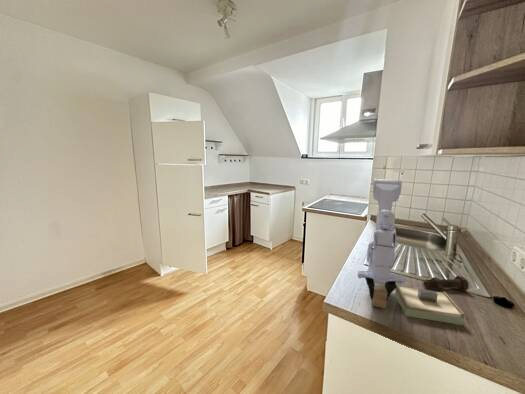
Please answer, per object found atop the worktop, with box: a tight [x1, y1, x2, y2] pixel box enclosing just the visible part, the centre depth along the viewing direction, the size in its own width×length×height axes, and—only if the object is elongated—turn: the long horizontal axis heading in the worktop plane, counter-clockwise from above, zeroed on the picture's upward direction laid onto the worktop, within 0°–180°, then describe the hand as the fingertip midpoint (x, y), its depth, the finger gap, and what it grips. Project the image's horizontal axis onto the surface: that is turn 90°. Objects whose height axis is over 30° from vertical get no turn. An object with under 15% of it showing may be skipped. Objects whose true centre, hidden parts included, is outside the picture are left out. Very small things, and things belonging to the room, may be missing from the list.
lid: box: [399, 286, 461, 318], centre depth 77 cm, size 12×14×4 cm
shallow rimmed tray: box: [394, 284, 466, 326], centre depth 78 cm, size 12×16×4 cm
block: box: [370, 283, 388, 309], centre depth 79 cm, size 5×4×6 cm
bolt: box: [422, 275, 470, 292], centre depth 90 cm, size 6×5×15 cm
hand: (378, 298), depth 79 cm, fingers closed on block, 4 cm apart
